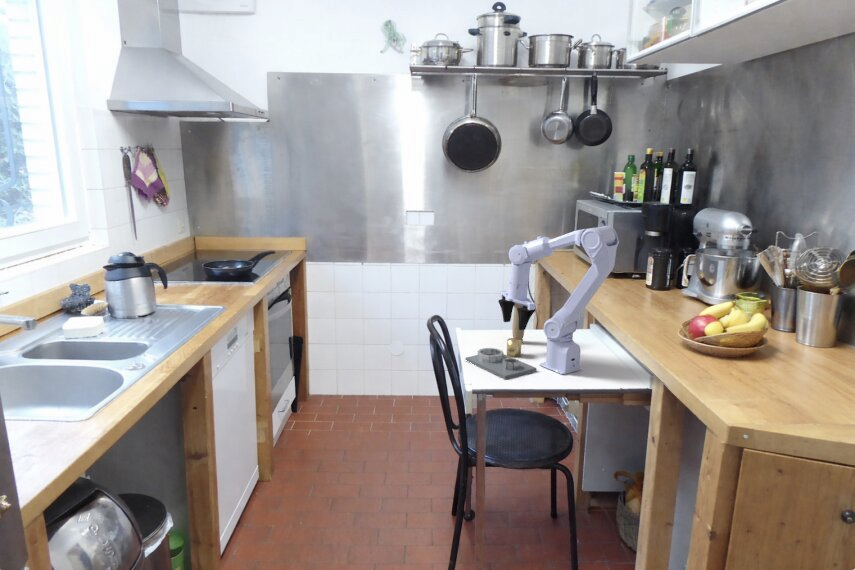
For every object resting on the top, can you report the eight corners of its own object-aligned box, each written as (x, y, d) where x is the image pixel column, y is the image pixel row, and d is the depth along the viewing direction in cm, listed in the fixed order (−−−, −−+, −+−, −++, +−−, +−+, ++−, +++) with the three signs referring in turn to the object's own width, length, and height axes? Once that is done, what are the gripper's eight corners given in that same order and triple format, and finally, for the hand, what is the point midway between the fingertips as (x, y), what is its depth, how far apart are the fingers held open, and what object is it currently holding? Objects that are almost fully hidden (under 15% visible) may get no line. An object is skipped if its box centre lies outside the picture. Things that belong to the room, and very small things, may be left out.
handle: (528, 344, 188) (530, 300, 185) (509, 344, 188) (511, 300, 185) (526, 340, 193) (528, 297, 190) (507, 340, 193) (509, 297, 190)
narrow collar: (521, 368, 164) (521, 361, 164) (509, 371, 162) (509, 364, 161) (510, 363, 168) (511, 356, 167) (499, 366, 165) (499, 359, 165)
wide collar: (508, 359, 171) (508, 353, 170) (488, 364, 167) (488, 357, 166) (491, 352, 177) (492, 346, 177) (472, 357, 173) (472, 350, 173)
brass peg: (523, 356, 177) (524, 340, 176) (513, 358, 175) (513, 343, 174) (514, 352, 181) (514, 337, 180) (503, 354, 179) (504, 339, 178)
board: (536, 371, 164) (536, 367, 164) (504, 379, 158) (504, 376, 158) (495, 353, 179) (495, 350, 179) (465, 360, 173) (465, 357, 172)
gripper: (494, 278, 177) (490, 319, 180) (523, 290, 165) (519, 334, 168) (511, 276, 180) (507, 317, 184) (542, 288, 168) (537, 331, 172)
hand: (514, 325), depth 176 cm, fingers open, 7 cm apart
